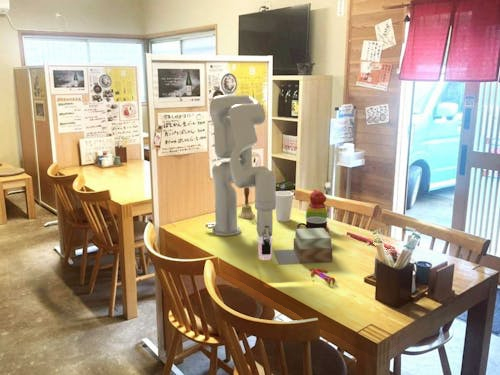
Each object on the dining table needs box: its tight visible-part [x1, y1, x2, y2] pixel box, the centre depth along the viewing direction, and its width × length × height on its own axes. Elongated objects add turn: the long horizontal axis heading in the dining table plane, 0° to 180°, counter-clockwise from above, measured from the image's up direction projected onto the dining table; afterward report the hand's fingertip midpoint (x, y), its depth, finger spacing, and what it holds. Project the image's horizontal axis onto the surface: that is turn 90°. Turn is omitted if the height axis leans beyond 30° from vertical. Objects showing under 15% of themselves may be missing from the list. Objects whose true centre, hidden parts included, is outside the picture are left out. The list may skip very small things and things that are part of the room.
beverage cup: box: [256, 234, 274, 261], centre depth 168 cm, size 6×6×14 cm
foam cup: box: [274, 190, 294, 223], centre depth 216 cm, size 10×9×13 cm
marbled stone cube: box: [293, 228, 333, 263], centre depth 170 cm, size 12×12×9 cm
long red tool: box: [346, 231, 396, 251], centre depth 187 cm, size 24×2×5 cm
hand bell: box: [238, 188, 256, 220], centre depth 221 cm, size 8×8×16 cm
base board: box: [272, 248, 334, 266], centre depth 170 cm, size 20×14×1 cm
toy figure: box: [308, 267, 336, 286], centre depth 154 cm, size 8×12×3 cm
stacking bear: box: [305, 189, 330, 233], centre depth 203 cm, size 11×10×18 cm
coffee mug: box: [296, 217, 328, 230], centre depth 186 cm, size 12×9×10 cm
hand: (265, 250), depth 168 cm, fingers closed on beverage cup, 6 cm apart
